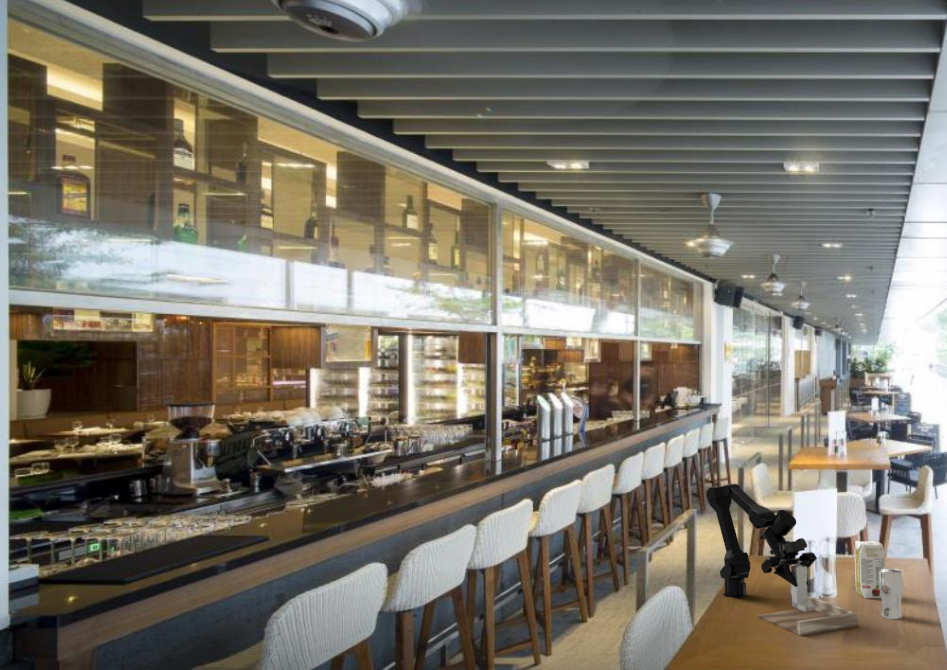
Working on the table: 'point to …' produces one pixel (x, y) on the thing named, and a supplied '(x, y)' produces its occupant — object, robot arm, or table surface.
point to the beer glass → (891, 592)
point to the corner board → (813, 618)
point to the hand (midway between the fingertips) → (802, 585)
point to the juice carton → (868, 568)
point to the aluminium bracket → (800, 589)
